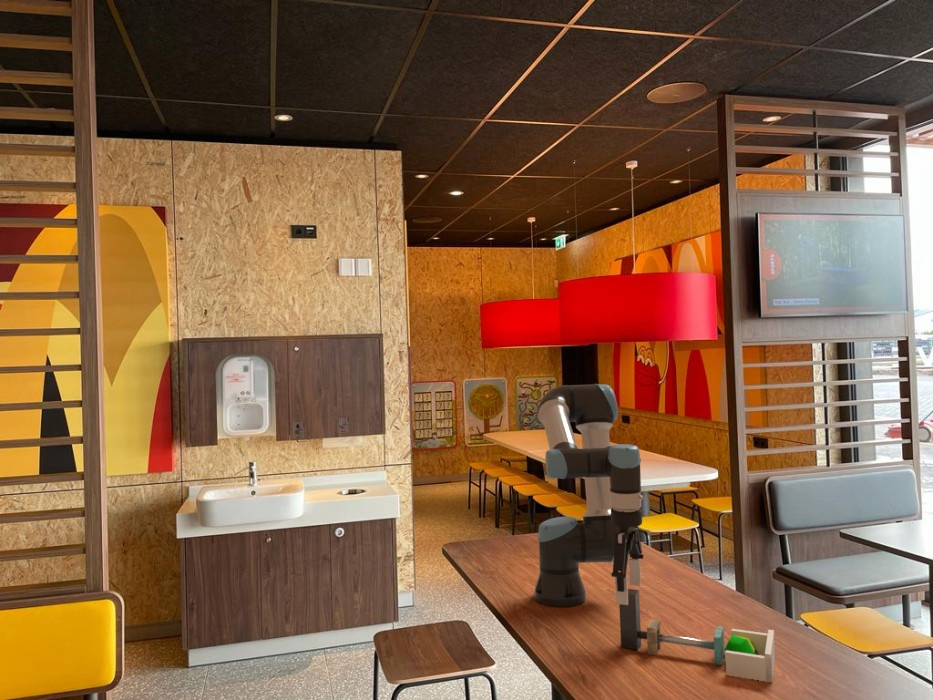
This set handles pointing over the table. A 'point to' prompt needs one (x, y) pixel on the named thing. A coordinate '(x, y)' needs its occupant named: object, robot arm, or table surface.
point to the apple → (740, 645)
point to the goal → (753, 657)
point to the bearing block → (653, 637)
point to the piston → (633, 633)
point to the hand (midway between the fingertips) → (629, 594)
